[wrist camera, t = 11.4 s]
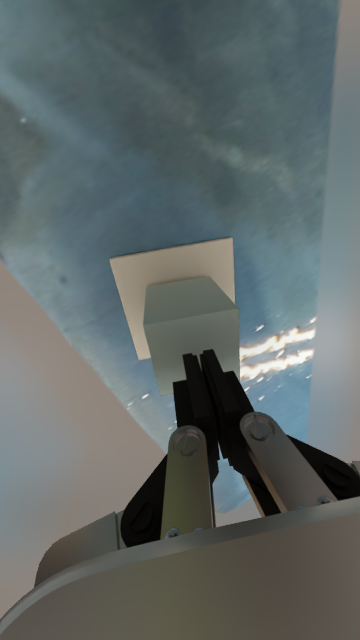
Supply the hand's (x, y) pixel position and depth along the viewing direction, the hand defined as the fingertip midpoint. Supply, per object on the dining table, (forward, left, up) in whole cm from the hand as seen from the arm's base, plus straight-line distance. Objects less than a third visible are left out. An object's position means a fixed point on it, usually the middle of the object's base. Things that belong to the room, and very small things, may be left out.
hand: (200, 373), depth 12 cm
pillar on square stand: (0, 0, -10) cm, 10 cm away
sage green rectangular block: (0, 0, -8) cm, 8 cm away
